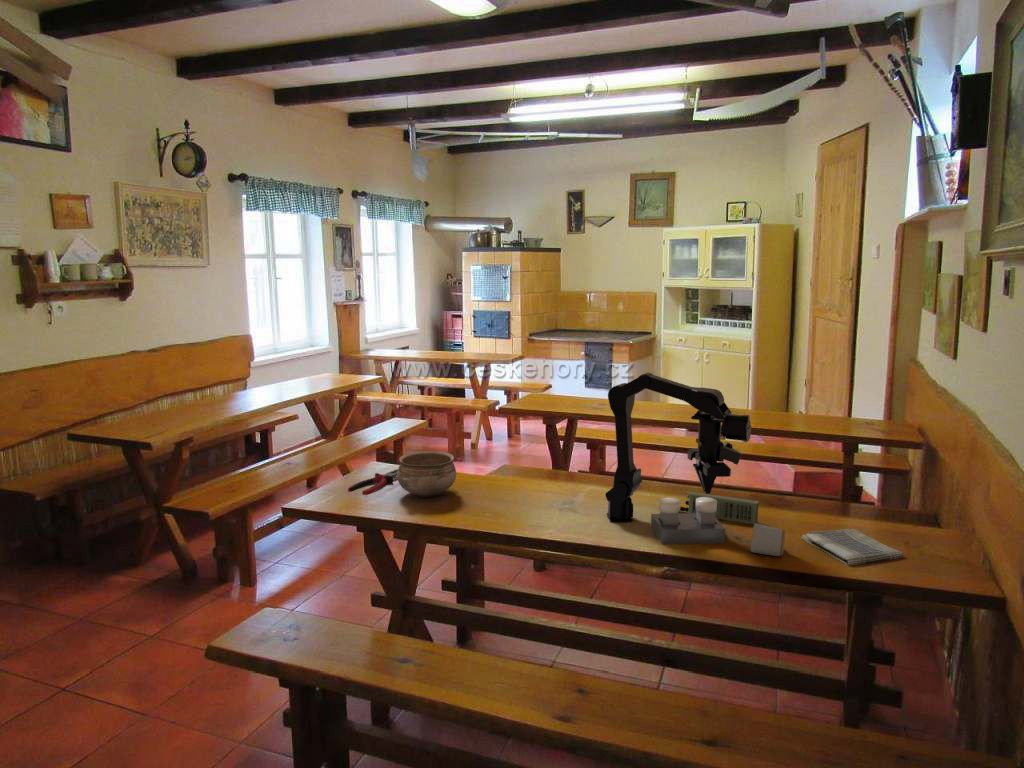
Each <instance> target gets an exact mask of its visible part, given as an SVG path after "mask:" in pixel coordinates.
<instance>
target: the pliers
mask: <svg viewBox="0 0 1024 768" xmlns="http://www.w3.org/2000/svg"><path fill="white" fill-rule="evenodd" d="M397 472H398V468H396V469H394V470H392V471H389V472H386V473H383V474H382V473H378V472H376V473H374V477H372V478H368V479H365V480H362V481H358V482H356V483H354V484H352V485H351V486H349V487H348V488H347V491H348V492H353V491H355V490H357V489H360V488H362V487H365V486H367V485H370V484H374V483H376V484H374V485H372V486H371V487H369V488H366V489H364V490H362V492H361V493H362V494H363V495H368V494H371V493H373V492H375V491H378V490H379V489H381V488H382V487H383V486H384V485H385V484H387V485H388V484H393V483H394V478H397Z"/></svg>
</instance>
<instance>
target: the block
mask: <svg viewBox="0 0 1024 768" xmlns="http://www.w3.org/2000/svg"><path fill="white" fill-rule="evenodd" d="M785 540H786V530H783V529H781V528H778V527H773V526H768V525H764V524H760V523H757V524H756V523H755V524H753V528H752V534H751V544H750V552H751V553H754V554H761V555H768V556H772V557H773V556H774V557H782V556H783V555H784V550H785Z"/></svg>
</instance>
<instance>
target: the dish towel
mask: <svg viewBox="0 0 1024 768" xmlns="http://www.w3.org/2000/svg"><path fill="white" fill-rule="evenodd" d="M802 539H803V540H804V542H805V541H806V542H805V543H807V544H808V543H809V544H808V545H810V544H811V546H812V545H813V546H812V547H814V546H815V547H814V548H816V547H817V548H819V549H821V550H822V551H821V550H820V551H821V552H823V551H824V552H823V553H825V552H826V553H825V554H827V555H828V554H829V555H828V556H830V555H831V556H830V557H832V556H833V557H832V558H834V557H835V558H836V560H837V559H838V560H837V561H839V560H840V561H839V562H841V563H843V564H844V563H845V564H844V565H846V566H847V567H849V566H850V567H851V566H858V565H863V564H865V565H866V564H870V563H877V562H885V561H889V560H890V561H893V560H896V559H897V560H899V559H903V558H904V557H905V556H904V552H903V551H901V550H900V551H899V550H897V549H895V548H893V547H890V546H888V545H885V544H884V543H881V542H879V541H878V540H876V539H874V538H872V537H870V536H867V535H866V534H864V533H861V532H860V531H859V530H858V529H852V528H845V529H843V528H841V529H837V530H834V529H830V530H821V531H816V530H815V531H809V533H807V534H803V535H801V540H802ZM803 540H802V541H803ZM817 548H816V549H817ZM819 549H818V550H819ZM835 558H834V559H835Z"/></svg>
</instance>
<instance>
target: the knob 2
mask: <svg viewBox="0 0 1024 768" xmlns="http://www.w3.org/2000/svg"><path fill="white" fill-rule="evenodd" d="M695 509H696V521H697V522H698V523H699V524H715V515H716V511H717V500H715V499H713V498H709V497H699V498H697V499H696V506H695Z"/></svg>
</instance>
